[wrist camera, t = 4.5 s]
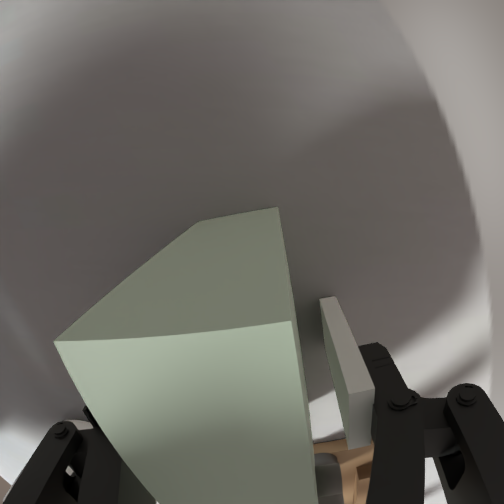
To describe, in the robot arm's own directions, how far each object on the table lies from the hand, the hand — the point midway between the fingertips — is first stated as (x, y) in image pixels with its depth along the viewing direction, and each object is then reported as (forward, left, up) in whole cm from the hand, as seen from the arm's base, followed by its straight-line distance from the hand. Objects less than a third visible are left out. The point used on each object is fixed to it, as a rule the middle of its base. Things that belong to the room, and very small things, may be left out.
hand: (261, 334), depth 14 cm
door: (0, 0, 0) cm, 0 cm away
